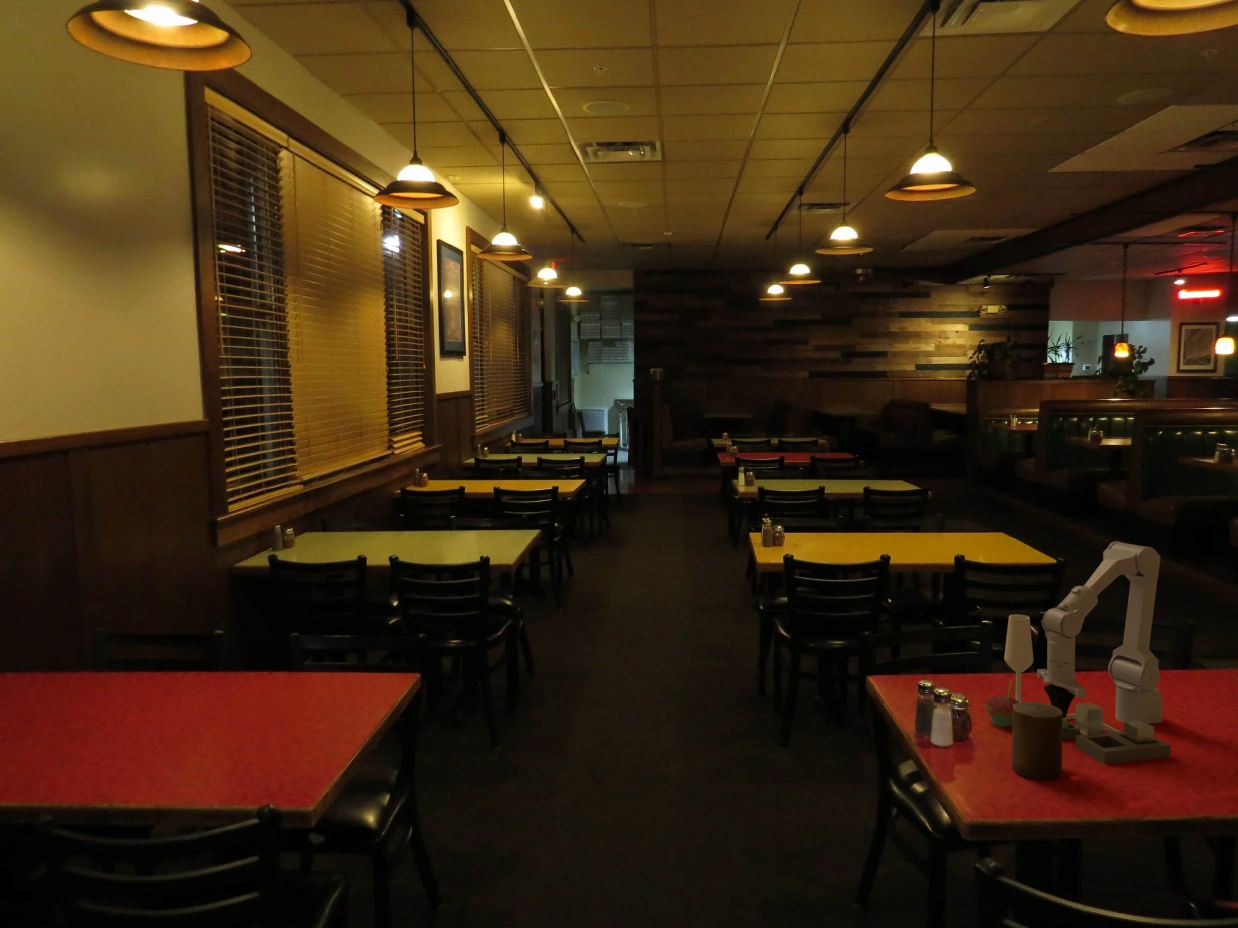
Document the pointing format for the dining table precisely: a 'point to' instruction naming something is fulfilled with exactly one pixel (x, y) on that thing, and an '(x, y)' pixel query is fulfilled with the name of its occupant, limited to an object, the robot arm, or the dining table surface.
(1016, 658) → the champagne flute
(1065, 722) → the button
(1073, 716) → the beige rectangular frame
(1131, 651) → the robot arm
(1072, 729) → the switch box
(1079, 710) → the block
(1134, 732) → the seated billet
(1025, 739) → the pillar candle
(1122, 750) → the grey holding fixture
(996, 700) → the cupcake
